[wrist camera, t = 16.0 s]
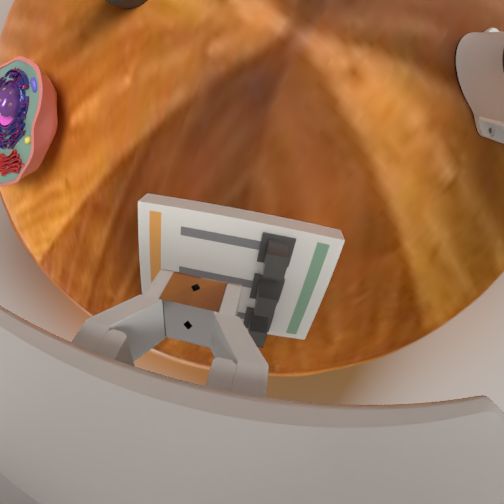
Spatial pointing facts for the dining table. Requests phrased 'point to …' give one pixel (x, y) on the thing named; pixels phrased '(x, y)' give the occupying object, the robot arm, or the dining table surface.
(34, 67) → the cell model
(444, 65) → the dining table surface
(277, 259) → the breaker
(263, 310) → the breaker
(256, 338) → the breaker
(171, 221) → the panel
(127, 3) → the candle holder
